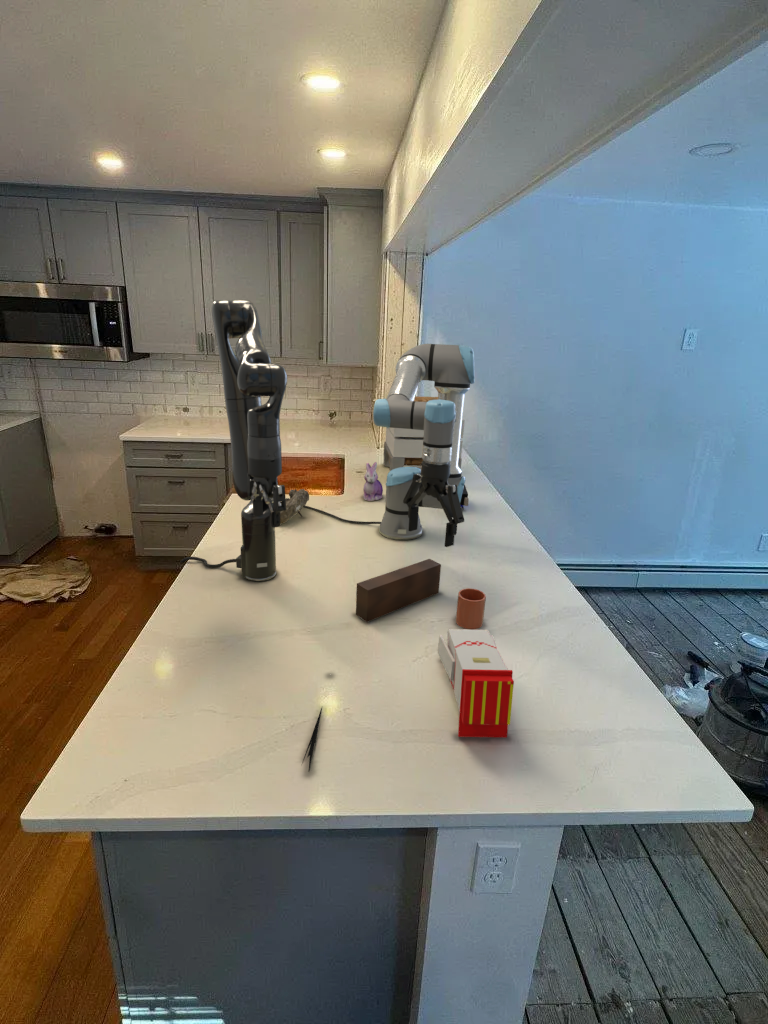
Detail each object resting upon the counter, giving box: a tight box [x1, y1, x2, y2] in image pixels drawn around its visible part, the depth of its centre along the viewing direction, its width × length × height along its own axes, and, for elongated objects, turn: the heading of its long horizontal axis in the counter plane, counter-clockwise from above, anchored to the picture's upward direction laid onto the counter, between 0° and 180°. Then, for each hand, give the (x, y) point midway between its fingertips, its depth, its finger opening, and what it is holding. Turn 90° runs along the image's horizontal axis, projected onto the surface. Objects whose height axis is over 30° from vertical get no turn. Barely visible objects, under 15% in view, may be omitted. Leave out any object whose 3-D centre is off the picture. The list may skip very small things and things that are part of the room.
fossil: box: [280, 488, 310, 525], centre depth 210 cm, size 22×10×15 cm
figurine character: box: [460, 484, 470, 511], centre depth 230 cm, size 7×8×15 cm
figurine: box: [362, 461, 384, 502], centre depth 233 cm, size 9×10×15 cm
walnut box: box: [355, 558, 442, 623], centre depth 151 cm, size 26×5×9 cm, turn 131°
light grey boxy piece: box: [383, 396, 465, 472], centre depth 268 cm, size 34×33×41 cm
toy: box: [437, 628, 515, 738], centre depth 117 cm, size 12×13×30 cm
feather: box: [301, 673, 332, 771], centre depth 108 cm, size 2×28×2 cm
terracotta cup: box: [455, 587, 487, 630], centre depth 144 cm, size 7×7×8 cm
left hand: (266, 521), depth 134 cm, fingers open, 8 cm apart
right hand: (430, 537), depth 153 cm, fingers open, 13 cm apart
